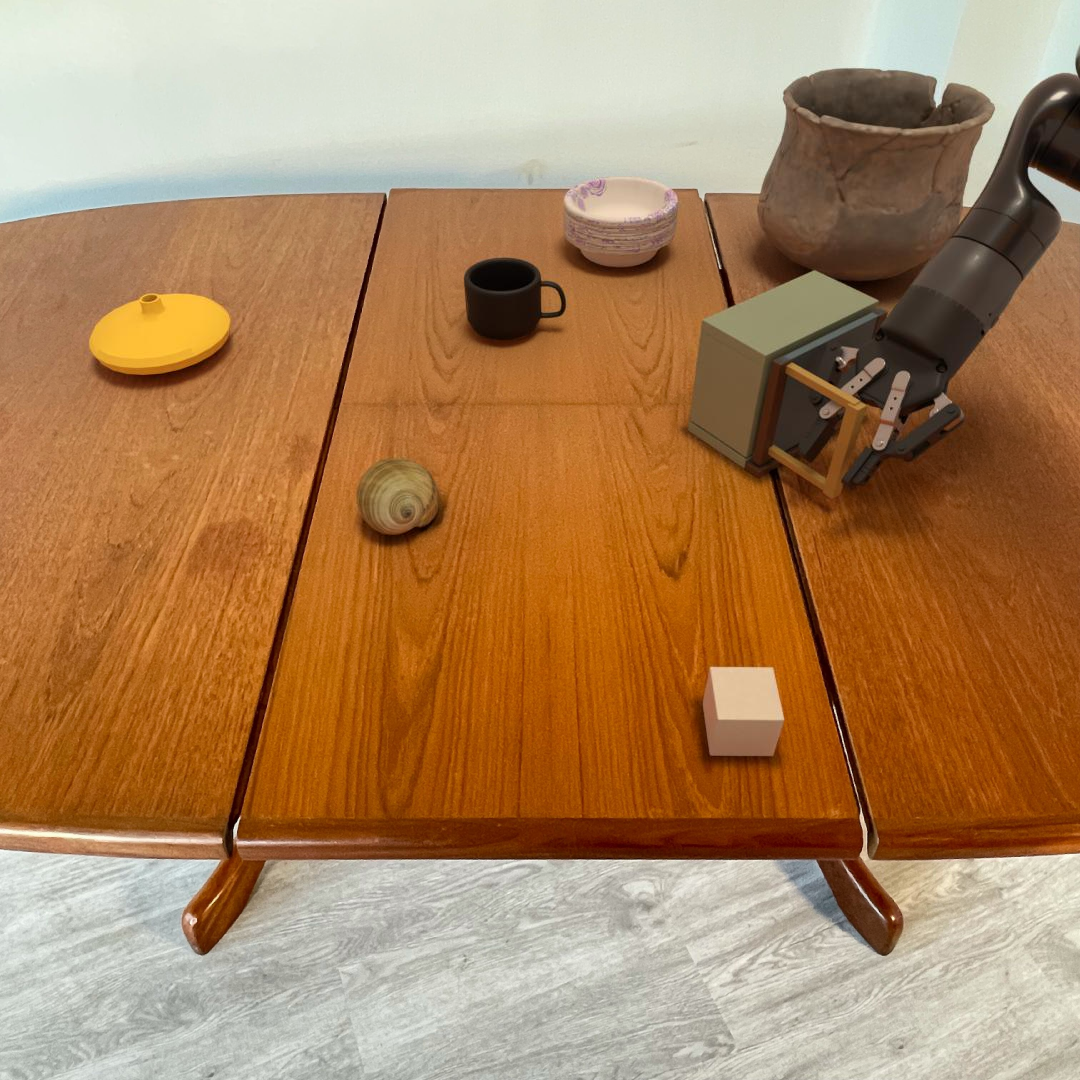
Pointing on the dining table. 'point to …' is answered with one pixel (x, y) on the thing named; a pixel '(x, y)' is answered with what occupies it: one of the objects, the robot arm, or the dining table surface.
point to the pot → (869, 170)
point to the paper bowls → (620, 219)
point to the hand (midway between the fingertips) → (825, 471)
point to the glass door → (795, 414)
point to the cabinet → (761, 358)
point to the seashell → (397, 496)
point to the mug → (506, 298)
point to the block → (742, 711)
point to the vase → (160, 333)
